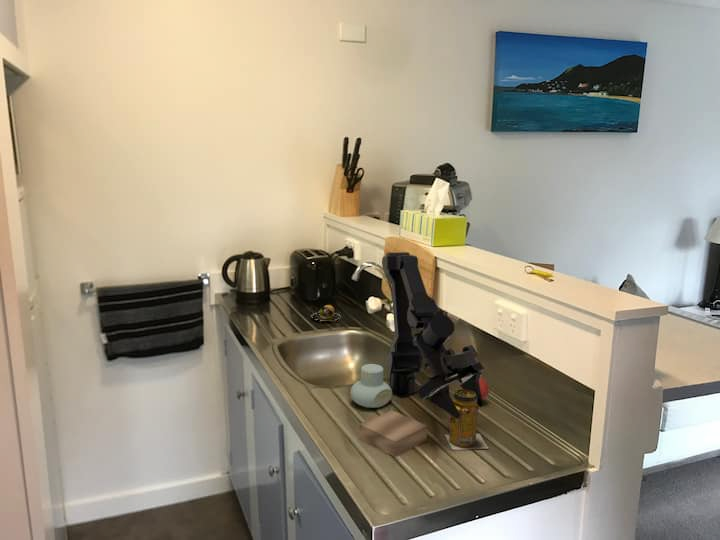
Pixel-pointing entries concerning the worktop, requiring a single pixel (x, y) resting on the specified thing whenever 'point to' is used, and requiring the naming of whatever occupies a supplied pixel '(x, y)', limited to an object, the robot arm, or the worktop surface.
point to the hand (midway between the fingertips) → (470, 412)
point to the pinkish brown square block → (393, 433)
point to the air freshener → (371, 387)
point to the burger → (327, 313)
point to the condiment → (465, 423)
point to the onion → (483, 388)
